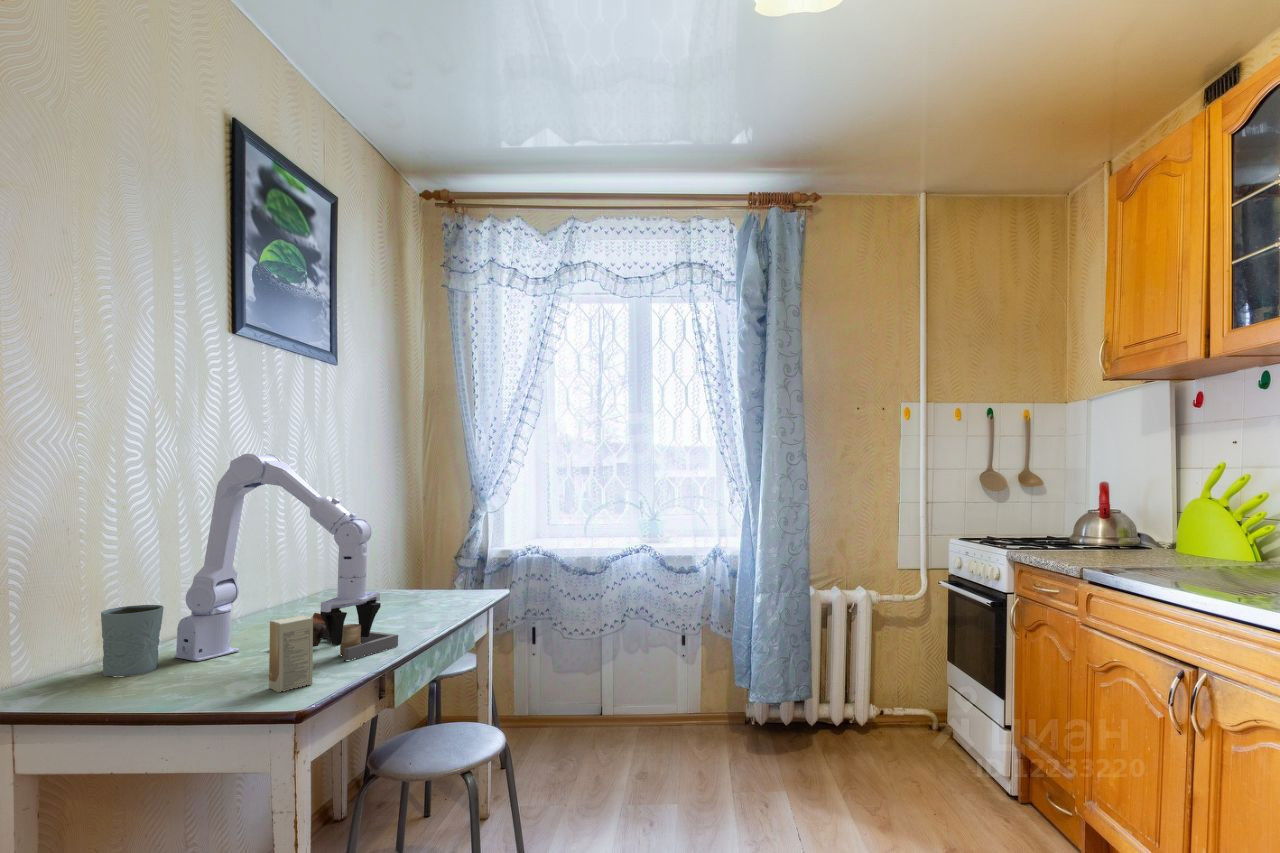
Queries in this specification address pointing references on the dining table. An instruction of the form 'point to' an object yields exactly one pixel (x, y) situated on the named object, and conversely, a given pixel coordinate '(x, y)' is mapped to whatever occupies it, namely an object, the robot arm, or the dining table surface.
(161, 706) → the dining table surface
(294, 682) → the skincare box
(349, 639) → the oak dowel
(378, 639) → the frame
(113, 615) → the grey green plant pot
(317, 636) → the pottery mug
